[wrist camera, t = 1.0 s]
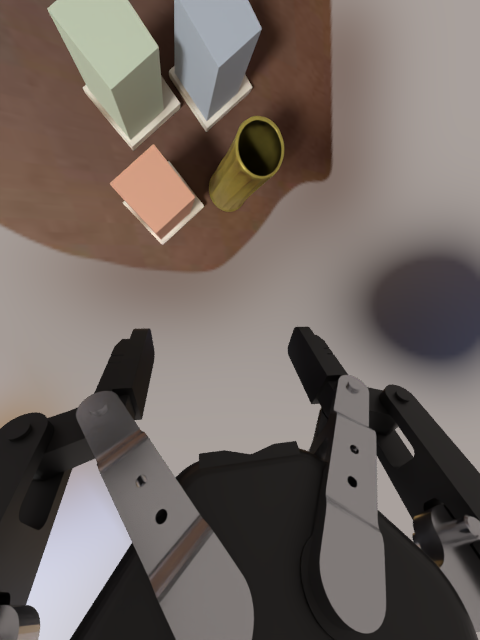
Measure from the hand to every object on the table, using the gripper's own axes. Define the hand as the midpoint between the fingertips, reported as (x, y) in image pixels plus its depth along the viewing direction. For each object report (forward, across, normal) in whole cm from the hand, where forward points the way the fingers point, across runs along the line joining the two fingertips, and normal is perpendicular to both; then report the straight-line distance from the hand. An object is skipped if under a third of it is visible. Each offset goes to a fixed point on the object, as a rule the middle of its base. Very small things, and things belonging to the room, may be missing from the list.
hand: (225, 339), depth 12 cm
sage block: (+31, +10, -13) cm, 35 cm away
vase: (+31, -3, -4) cm, 31 cm away
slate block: (+33, 0, -16) cm, 37 cm away
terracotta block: (+27, +7, -2) cm, 28 cm away
